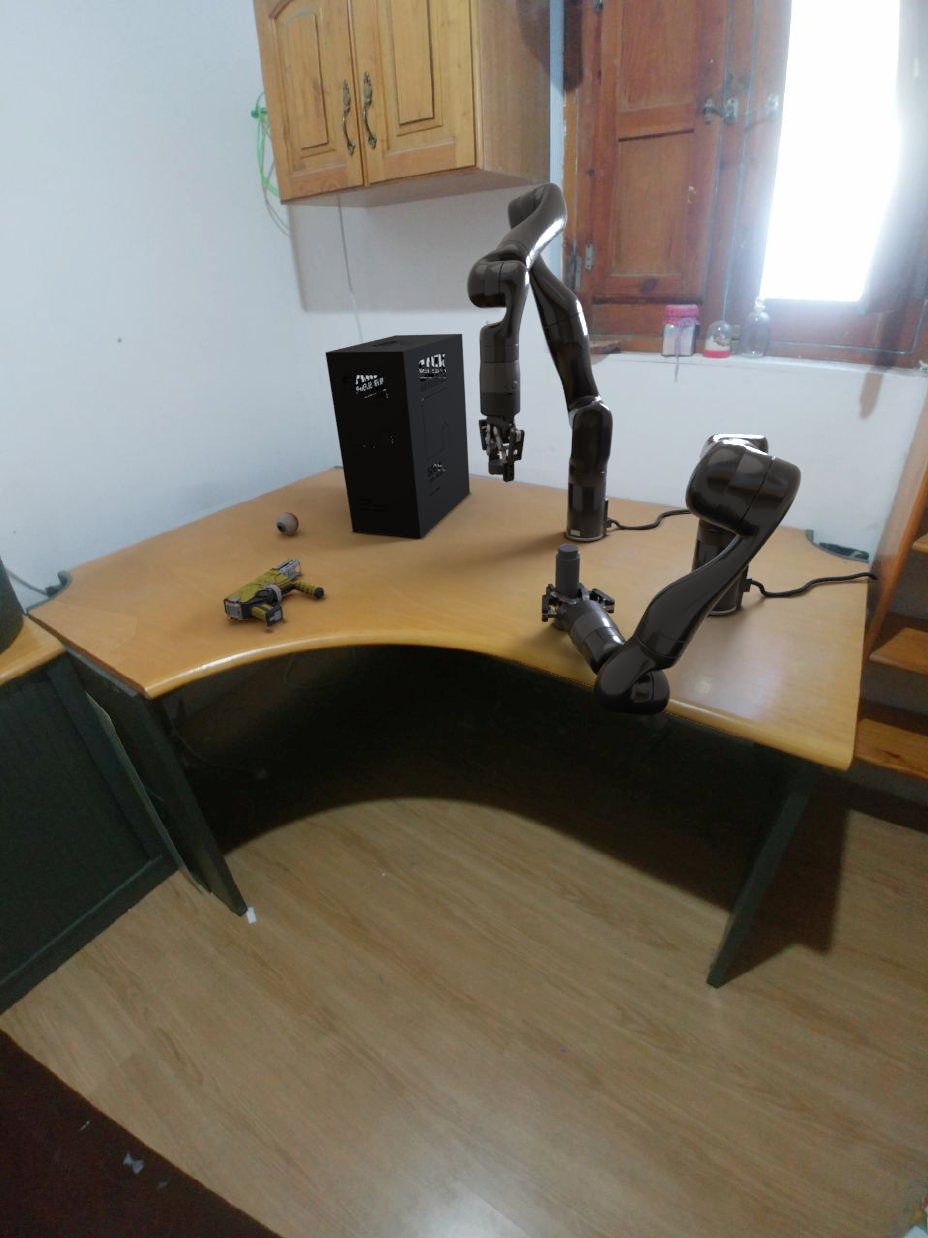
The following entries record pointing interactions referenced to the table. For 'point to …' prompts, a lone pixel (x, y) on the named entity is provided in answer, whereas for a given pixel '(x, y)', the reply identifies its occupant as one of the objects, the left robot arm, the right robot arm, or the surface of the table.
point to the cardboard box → (401, 431)
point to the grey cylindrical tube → (567, 574)
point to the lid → (496, 466)
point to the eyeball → (287, 523)
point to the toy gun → (268, 594)
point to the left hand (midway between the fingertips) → (501, 477)
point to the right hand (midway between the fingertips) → (562, 586)
